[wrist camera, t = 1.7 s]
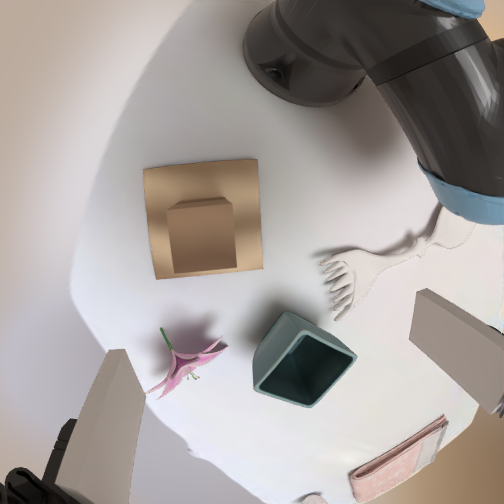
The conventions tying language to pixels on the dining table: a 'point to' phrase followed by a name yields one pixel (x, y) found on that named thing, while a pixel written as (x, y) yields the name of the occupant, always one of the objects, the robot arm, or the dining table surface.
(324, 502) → the white tall oval piece
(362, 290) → the white spork
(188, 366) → the lily
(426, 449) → the towel
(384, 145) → the dining table surface
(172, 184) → the lid
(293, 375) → the flower pot
